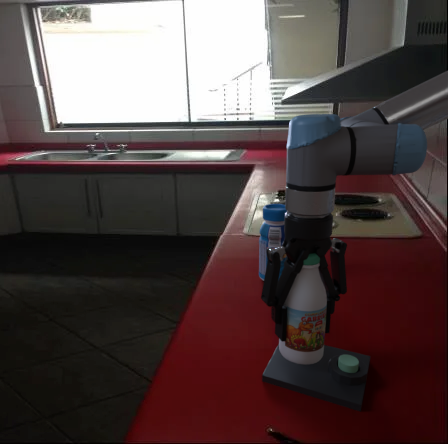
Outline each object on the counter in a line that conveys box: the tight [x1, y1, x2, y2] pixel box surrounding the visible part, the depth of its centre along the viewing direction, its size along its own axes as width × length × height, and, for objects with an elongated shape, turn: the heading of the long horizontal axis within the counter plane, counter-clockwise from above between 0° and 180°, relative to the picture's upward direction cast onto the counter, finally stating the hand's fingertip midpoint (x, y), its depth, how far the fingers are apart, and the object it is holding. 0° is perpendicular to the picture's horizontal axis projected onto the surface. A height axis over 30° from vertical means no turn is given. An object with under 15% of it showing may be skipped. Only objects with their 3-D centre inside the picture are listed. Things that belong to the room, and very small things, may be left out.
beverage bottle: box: [258, 203, 287, 282], centre depth 110 cm, size 8×8×20 cm
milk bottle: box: [278, 254, 327, 365], centre depth 73 cm, size 8×8×20 cm
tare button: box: [338, 355, 359, 373], centre depth 72 cm, size 3×3×2 cm
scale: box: [261, 343, 372, 412], centre depth 75 cm, size 16×14×3 cm
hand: (302, 333), depth 75 cm, fingers closed on milk bottle, 8 cm apart
